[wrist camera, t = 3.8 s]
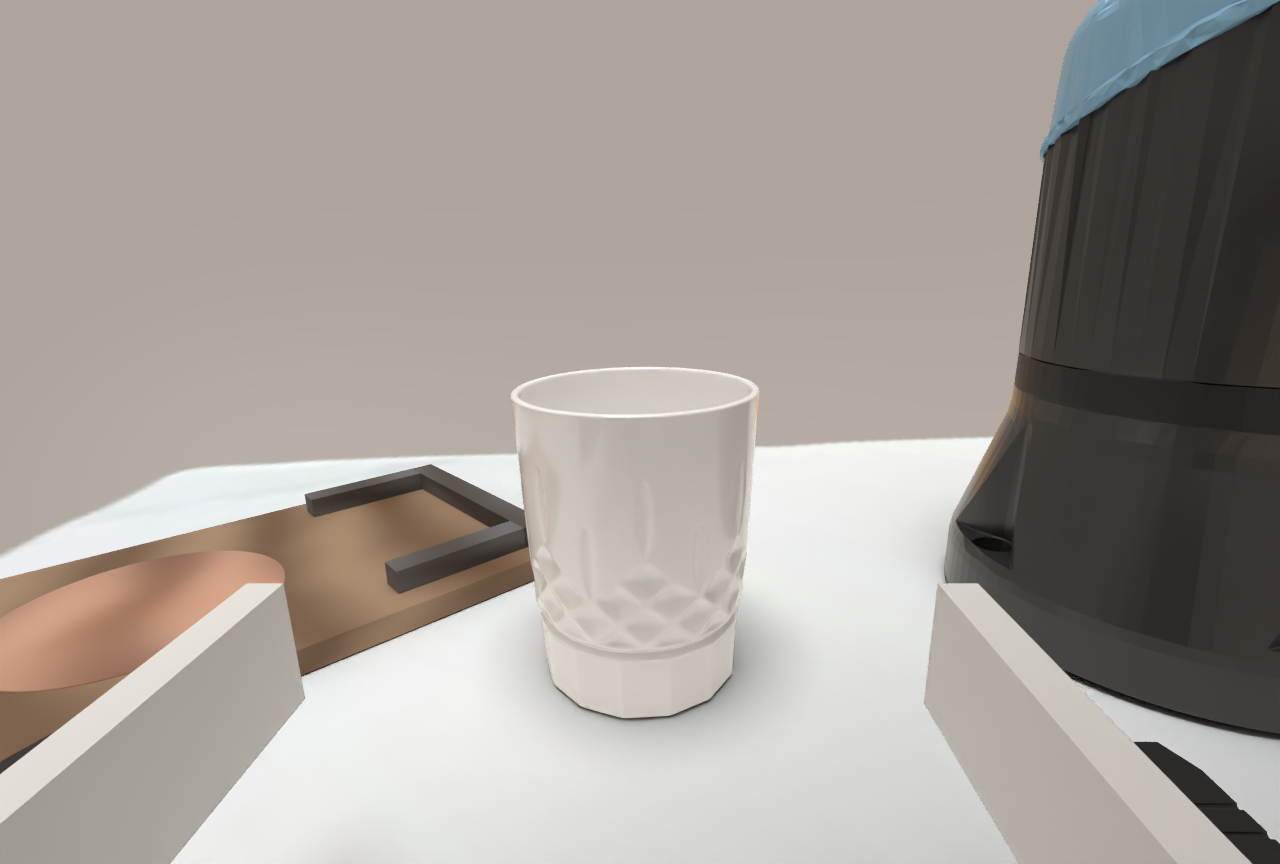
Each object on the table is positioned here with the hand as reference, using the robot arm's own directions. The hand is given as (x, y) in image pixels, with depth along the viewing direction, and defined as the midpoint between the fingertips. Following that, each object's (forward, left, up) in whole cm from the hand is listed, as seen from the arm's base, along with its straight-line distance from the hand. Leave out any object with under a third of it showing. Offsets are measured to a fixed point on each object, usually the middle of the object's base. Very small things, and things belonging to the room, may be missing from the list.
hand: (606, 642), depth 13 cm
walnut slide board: (+2, -21, -6) cm, 22 cm away
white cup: (-6, -6, -7) cm, 11 cm away
